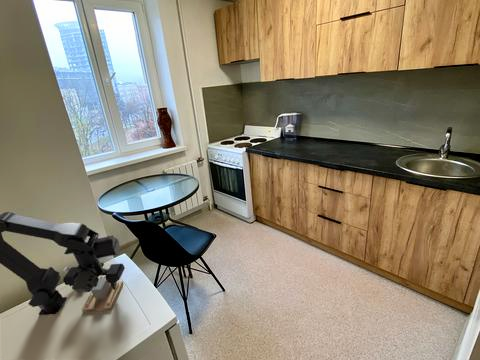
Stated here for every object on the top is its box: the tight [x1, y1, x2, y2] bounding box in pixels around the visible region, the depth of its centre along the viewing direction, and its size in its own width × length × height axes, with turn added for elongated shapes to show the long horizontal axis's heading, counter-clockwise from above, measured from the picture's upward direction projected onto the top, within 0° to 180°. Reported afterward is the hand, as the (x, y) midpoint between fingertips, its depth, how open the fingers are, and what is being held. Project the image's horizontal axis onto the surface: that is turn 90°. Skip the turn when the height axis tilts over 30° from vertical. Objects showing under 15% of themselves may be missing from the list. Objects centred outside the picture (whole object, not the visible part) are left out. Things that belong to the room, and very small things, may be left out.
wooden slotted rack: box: [81, 275, 124, 313], centre depth 91 cm, size 10×11×5 cm
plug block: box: [90, 277, 111, 300], centre depth 91 cm, size 4×5×5 cm
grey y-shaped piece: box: [62, 266, 71, 275], centre depth 97 cm, size 7×2×8 cm, turn 84°
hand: (102, 290), depth 91 cm, fingers open, 9 cm apart
